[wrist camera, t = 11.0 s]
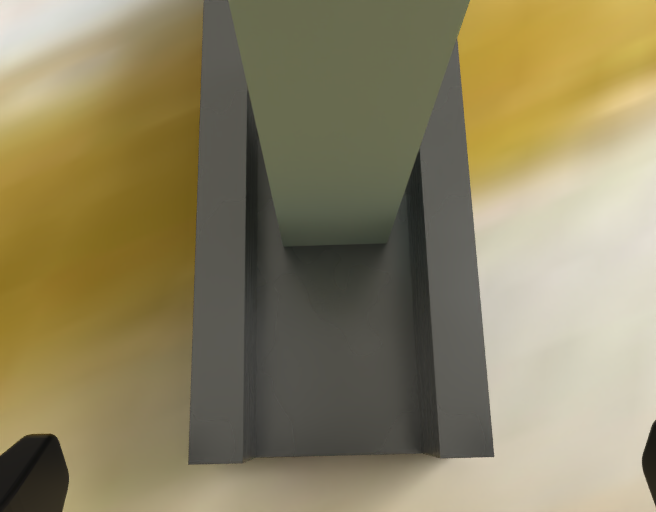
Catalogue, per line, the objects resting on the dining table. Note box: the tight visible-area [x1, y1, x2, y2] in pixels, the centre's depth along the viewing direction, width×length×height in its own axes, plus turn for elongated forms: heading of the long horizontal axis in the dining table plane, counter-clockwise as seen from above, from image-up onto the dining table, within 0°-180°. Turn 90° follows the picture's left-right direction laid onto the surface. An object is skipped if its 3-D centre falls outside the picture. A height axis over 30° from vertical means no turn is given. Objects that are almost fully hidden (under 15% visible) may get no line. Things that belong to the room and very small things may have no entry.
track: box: [188, 0, 494, 465], centre depth 18 cm, size 16×7×4 cm, turn 1°
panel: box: [228, 0, 470, 247], centre depth 13 cm, size 3×4×12 cm
